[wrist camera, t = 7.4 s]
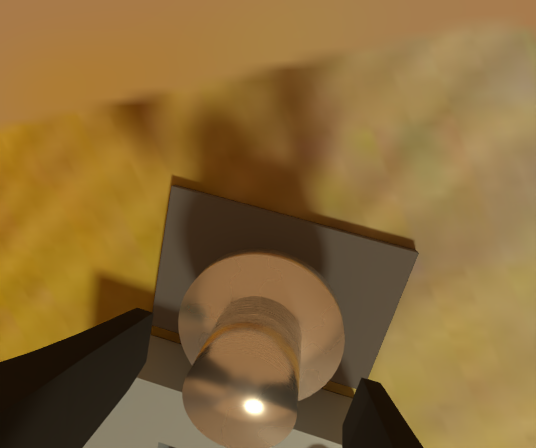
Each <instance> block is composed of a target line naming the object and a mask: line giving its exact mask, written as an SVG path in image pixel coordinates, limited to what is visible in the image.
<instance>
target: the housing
mask: <svg viewBox="0 0 536 448" xmlns="http://www.w3.org/2000/svg"><path fill="white" fill-rule="evenodd" d="M191 367H192V365H191V363H190V361H189V360H188V358H187V356H186V354H185V352H184V350H183V347H182V345H181V344H178V343H175V342H172V341H169V340H165V339H162V338H159V337H156V336H153V335H150V341H149V347H148V354H147V361H146V363H145V365H144V366H143V368H142V370H141V371H140V373H139V374H138V376H137V378H136V379H135V381H134V382H133V384H132V385H131V387H130V389H129V390H128V391H127V393H126V394H125V395H124V396H123V398H122V399H121V400H120V402H119V403H118V404H117V405H116V407H115V408H114V409H113V410H112V412H111V413H110V414H109V415H108V417H107V418H106V419H105V420H104V422H103V423H102V424H101V425H100V427H99V428H98V429H97V430H96V432H95V433H94V434H93V435H92V437H91V438H90V439H89V440H88V442H87V443H86V444H85V445H84V447H83V448H227V447H224V446H222V445H219V444H217V443H215V442H213V441H212V440H210V439H209V438H207V437H206V436H205V435H203V434H202V433H201V432H200V431H199V430H198V429H197V428H196V427H195V426H194V424H193V423H192V422H191V420H190V419H189V417H188V415H187V413H186V411H185V408H184V405H183V399H182V389H183V384H184V380H185V378H186V376H187V374H188V372H189V370H190V369H191ZM352 400H353V399H352V398H349V397H346V396H343V395H340V394H337V393H333V392H330V391H327V390H324V389H320V390H318V391H317V392H315V393H314V394H312V395H311V396H309V397H307V398H305V399H302V400H300V401H298V410H297V418H296V422H295V425H294V427H293V429H292V431H291V432H290V434H289V435H288V436H287V437H286V438H285V439H284V440H283V441H281V442H280V443H278V444H277V445H275V446H272V447H270V448H342V425H343V422H344V420H345V417H346V415H347V412H348V410H349V407H350V405H351V402H352Z"/></svg>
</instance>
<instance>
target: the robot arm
mask: <svg viewBox="0 0 536 448" xmlns="http://www.w3.org/2000/svg"><path fill="white" fill-rule="evenodd" d="M153 315H154V313H152V312H149V311H145V310H142V309H139V308H136V309H134V310H131V311H129V312H126V313H124V314H122V315H120V316H117V317H115V318H113V319H111V320H109V321H106V322H104V323H102V324H100V325H97V326H95V327H93V328H90V329H88V330H86V331H83V332H81V333H79V334H76V335H74V336H71V337H69V338H66V339H64V340H61V341H59V342H56V343H54V344H51V345H48V346H46V347H43V348H41V349H38V350H35V351H32V352H30V353H27V354H24V355H21V356H18V357H15V358H12V359H9V360H5V361H2V362H0V448H83V447H84V445H85V444H86V443H87V442H88V440H89V439H90V438H91V437H92V435H93V434H94V433H95V432H96V430H97V429H98V428H99V427H100V425H101V424H102V423H103V422H104V420H105V419H106V418H107V417H108V415H109V414H110V413H111V412H112V410H113V409H114V408H115V407H116V405H117V404H118V403H119V402H120V400H121V399H122V398H123V396H124V395H125V394H126V393H127V391H128V390H129V389H130V387H131V385H132V384H133V382H134V381H135V379H136V378H137V376H138V374H139V373H140V371H141V370H142V368H143V366H144V365H145V363H146V361H147V354H148V347H149V341H150V334H151V328H152V321H153ZM342 448H423V446H422V445H421V443H420V442H419V440H418V439H417V438H416V436H415V435H414V433H413V432H412V430H411V429H410V427H409V426H408V424H407V423H406V421H405V420H404V418H403V417H402V415H401V414H400V412H399V410H398V409H397V407H396V406H395V404H394V403H393V401H392V400H391V398H390V397H389V395H388V394H387V392H386V391H385V389H384V388H383V386H382V385H381V383H378V382H375V381H372V380H369V379H366V378H362V377H361V380H360V382H359V385H358V387H357V390H356V392H355V395H354V397H353V400H352V402H351V405H350V407H349V410H348V412H347V415H346V417H345V420H344V422H343V425H342Z"/></svg>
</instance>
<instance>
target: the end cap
mask: <svg viewBox="0 0 536 448" xmlns="http://www.w3.org/2000/svg"><path fill="white" fill-rule="evenodd" d="M178 328H179V336H180V341H181V344H182V347H183V350H184V352H185V354H186V356H187V358H188V360H189V361H190V363H191V365H192V367H191V369H190V370H189V372H188V374H187V376H186V378H185V380H184V384H183V389H182V399H183V405H184V408H185V411H186V413H187V415H188V417H189V419H190V420H191V422H192V423H193V424H194V426H195V427H196V428H197V429H198V430H199V431H200V432H201V433H202V434H203V435H205V436H206V437H207V438H209V439H210V440H212V441H213V442H215V443H217V444H219V445H222V446H224V447H227V448H270V447H272V446H275V445H277V444H278V443H280V442H281V441H283V440H284V439H285V438H286V437H287V436H288V435H289V434H290V432H291V431H292V429H293V427H294V425H295V422H296V418H297V410H298V401H300V400H302V399H305V398H307V397H309V396H311V395H312V394H314V393H315V392H317V391H318V390H320V389H321V388H322V387H323V386H324V385H325V384H326V383H327V382H328V381H329V380H330V379H331V378H332V376H333V375H334V373H335V372H336V370H337V368H338V366H339V364H340V362H341V359H342V355H343V352H344V343H345V335H344V326H343V320H342V315H341V309H340V306H339V303H338V300H337V298H336V296H335V294H334V292H333V290H332V288H331V287H330V285H329V284H328V282H327V281H326V280H325V279H324V278H323V276H322V275H321V274H320V273H319V272H318V271H316V270H315V269H314V268H313V267H312V266H310V265H309V264H307V263H306V262H304V261H303V260H301V259H299V258H297V257H295V256H293V255H291V254H288V253H285V252H282V251H278V250H273V249H265V248H249V249H243V250H238V251H235V252H231V253H229V254H226V255H224V256H222V257H220V258H219V259H217V260H215V261H214V262H212V263H211V264H210V265H209V266H208V267H207V268H205V270H204V271H203V272H202V273H201V274H200V275H199V276H198V277H197V279H196V280H195V281H194V282H193V283H192V284H191V286H190V287H189V289H188V290H187V292H186V294H185V296H184V298H183V300H182V303H181V307H180V311H179V319H178Z"/></svg>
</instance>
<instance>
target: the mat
mask: <svg viewBox="0 0 536 448" xmlns="http://www.w3.org/2000/svg"><path fill="white" fill-rule="evenodd" d="M249 248H265V249H273V250H278V251H282V252H285V253H288V254H291V255H293V256H295V257H297V258H299V259H301V260H303V261H304V262H306V263H307V264H309V265H310V266H312V267H313V268H314V269H315V270H316V271H318V272H319V273H320V274H321V275H322V276H323V278H324V279H325V280H326V281H327V282H328V284H329V285H330V287H331V288H332V290H333V292H334V294H335V296H336V298H337V300H338V303H339V306H340V309H341V315H342V320H343V326H344V335H345V343H344V352H343V355H342V359H341V362H340V364H339V366H338V368H337V370H336V372H335V373H334V375H333V376H332V378H331V379H330V380H329V381H333V382H336V383H339V384H342V385H345V386H349V387H352V388H355V389H357V387H358V385H359V382H360V380H361V377H362V378H366V379H368V377H369V374H370V372H371V369H372V367H373V364H374V362H375V359H376V357H377V354H378V352H379V350H380V347H381V345H382V342H383V340H384V337H385V335H386V332H387V330H388V327H389V325H390V323H391V320H392V318H393V315H394V313H395V310H396V308H397V305H398V303H399V300H400V298H401V296H402V293H403V291H404V288H405V286H406V283H407V281H408V278H409V276H410V273H411V271H412V269H413V266H414V264H415V261H416V259H417V256H418V254H419V253H418V252H417V251H416V250H414V249H410V248H406V247H402V246H399V245H395V244H391V243H388V242H384V241H380V240H377V239H373V238H369V237H366V236H362V235H358V234H354V233H351V232H347V231H343V230H340V229H336V228H332V227H329V226H325V225H321V224H318V223H314V222H310V221H306V220H303V219H299V218H295V217H292V216H288V215H284V214H281V213H277V212H273V211H270V210H266V209H262V208H258V207H255V206H251V205H247V204H244V203H240V202H236V201H233V200H229V199H225V198H222V197H218V196H214V195H210V194H207V193H203V192H199V191H196V190H192V189H188V188H185V187H181V186H177V185H173V186H172V187H171V193H170V200H169V206H168V213H167V220H166V226H165V233H164V239H163V246H162V253H161V259H160V266H159V272H158V279H157V286H156V292H155V299H154V306H153V312H152V313H154V315H153V321H152V325H153V326H157V327H160V328H163V329H166V330H169V331H173V332H176V333H179V328H178V319H179V311H180V307H181V303H182V300H183V298H184V296H185V294H186V292H187V290H188V289H189V287H190V286H191V284H192V283H193V282H194V281H195V280H196V279H197V277H198V276H199V275H200V274H201V273H202V272H203V271H204V270H205V268H207V267H208V266H209V265H210V264H211V263H212V262H214V261H215V260H217V259H219V258H220V257H222V256H224V255H226V254H229V253H231V252H235V251H238V250H243V249H249Z"/></svg>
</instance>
